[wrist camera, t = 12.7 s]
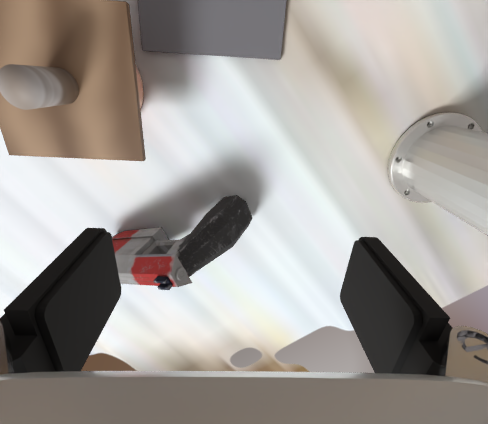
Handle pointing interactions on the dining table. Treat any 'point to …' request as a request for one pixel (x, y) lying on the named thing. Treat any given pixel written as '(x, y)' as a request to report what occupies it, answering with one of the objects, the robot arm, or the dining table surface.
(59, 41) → the walnut lid
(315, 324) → the dining table surface
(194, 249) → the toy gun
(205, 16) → the charcoal tray
